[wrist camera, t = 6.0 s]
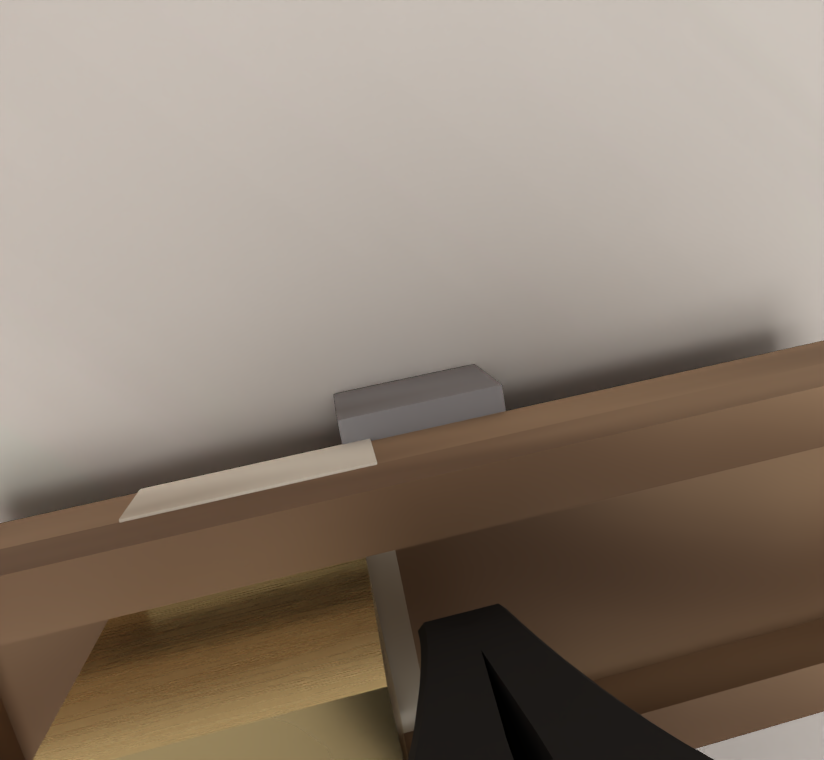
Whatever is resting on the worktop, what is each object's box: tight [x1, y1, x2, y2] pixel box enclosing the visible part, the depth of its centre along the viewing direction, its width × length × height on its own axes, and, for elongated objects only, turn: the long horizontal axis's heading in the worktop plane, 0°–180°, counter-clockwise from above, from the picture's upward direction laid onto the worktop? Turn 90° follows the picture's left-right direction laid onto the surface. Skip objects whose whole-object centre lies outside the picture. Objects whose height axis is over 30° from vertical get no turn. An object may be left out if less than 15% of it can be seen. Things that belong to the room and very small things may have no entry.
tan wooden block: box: [33, 557, 408, 760], centre depth 9 cm, size 3×4×3 cm
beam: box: [0, 341, 824, 760], centre depth 12 cm, size 7×17×4 cm, turn 100°
